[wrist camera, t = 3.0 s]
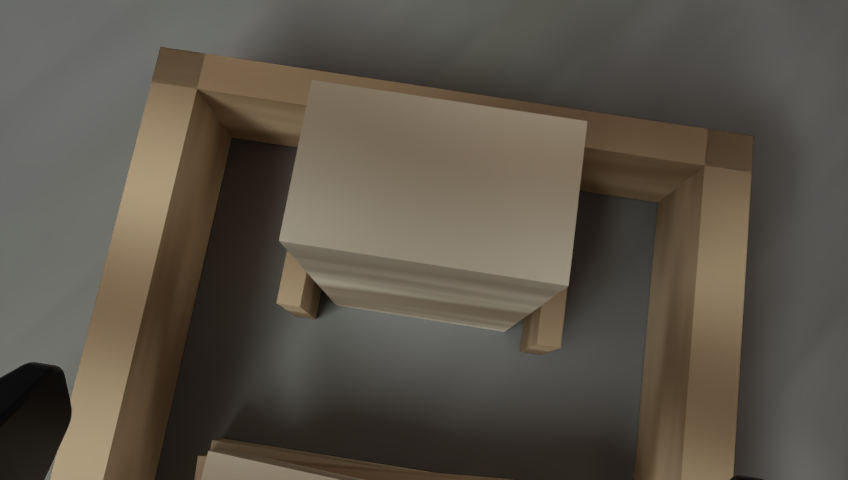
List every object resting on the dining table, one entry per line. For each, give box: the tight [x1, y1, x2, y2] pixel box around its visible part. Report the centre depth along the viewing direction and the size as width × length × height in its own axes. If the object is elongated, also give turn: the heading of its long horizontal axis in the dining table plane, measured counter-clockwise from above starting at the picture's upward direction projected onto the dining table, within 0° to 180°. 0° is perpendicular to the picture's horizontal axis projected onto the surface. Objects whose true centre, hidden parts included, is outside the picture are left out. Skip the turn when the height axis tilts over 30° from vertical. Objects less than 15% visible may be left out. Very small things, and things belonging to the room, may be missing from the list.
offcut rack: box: [50, 47, 754, 480], centre depth 19 cm, size 14×16×4 cm
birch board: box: [279, 80, 587, 332], centre depth 17 cm, size 3×5×9 cm, turn 81°
